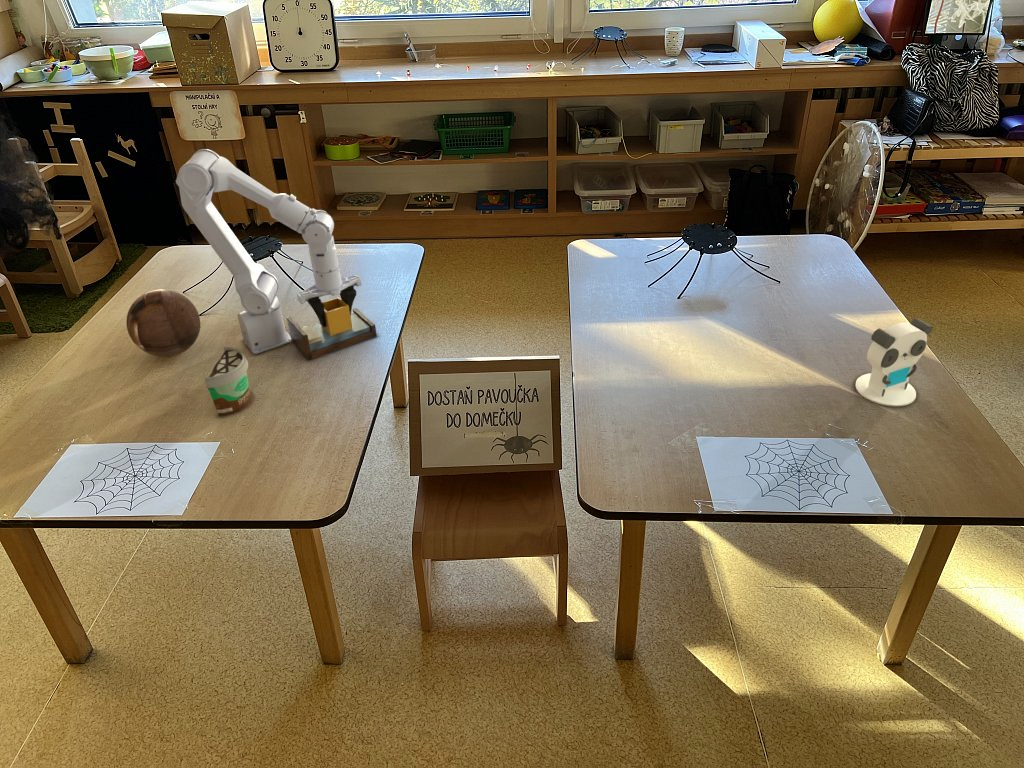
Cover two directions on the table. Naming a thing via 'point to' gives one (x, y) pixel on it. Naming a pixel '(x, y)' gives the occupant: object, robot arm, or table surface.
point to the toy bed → (319, 342)
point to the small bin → (336, 316)
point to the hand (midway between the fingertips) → (335, 321)
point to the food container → (229, 383)
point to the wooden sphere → (163, 323)
